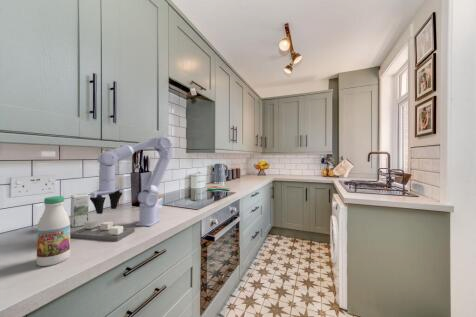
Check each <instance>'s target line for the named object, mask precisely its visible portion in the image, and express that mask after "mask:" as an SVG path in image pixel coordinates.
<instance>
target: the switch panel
mask: <svg viewBox="0 0 476 317" xmlns="http://www.w3.org/2000/svg"><path fill="white" fill-rule="evenodd" d="M135 230H136V229H135V227H123V232H122V233H121V234H119V235H112V234H110V229H109V230H101V229H100V225H97V227H94V228H92V229H87V228H84V227H81V228H79V229H78V230H74V231H72V232H70V238H75V239H86V240H87V239H88V240H97V241H99V240H100V241H108V242H119V241H120V240H122V239H124V238H127V237H128V236H129V235H131V234H133V233H135Z"/></svg>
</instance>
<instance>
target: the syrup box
mask: <svg viewBox="0 0 476 317" xmlns="http://www.w3.org/2000/svg"><path fill="white" fill-rule="evenodd" d="M89 202H90V195H88V194H87V193H80V194H79V193H78V194H71V195H70V227H72V228H73V229H74V228H78V227H84V222H87V221H89V207H90V206H89V204H90V203H89Z"/></svg>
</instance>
